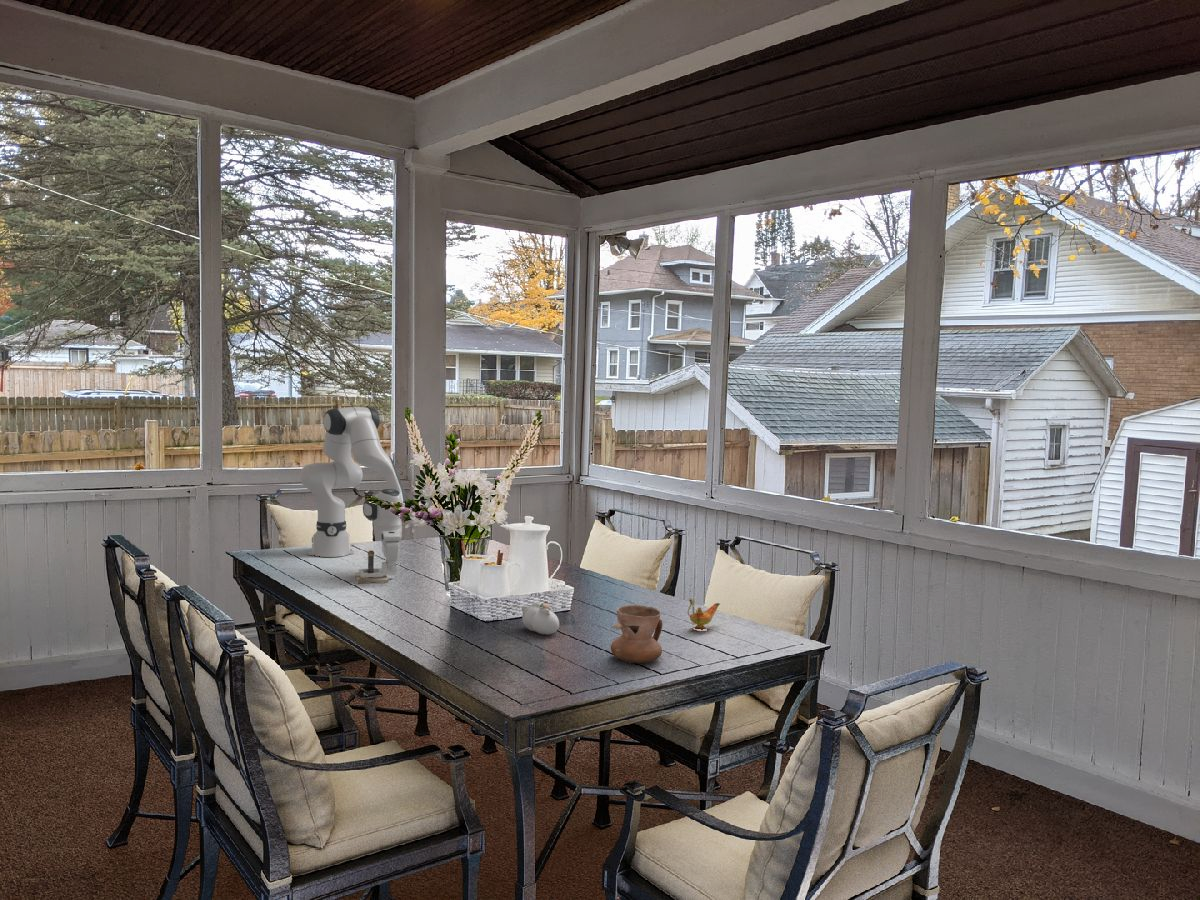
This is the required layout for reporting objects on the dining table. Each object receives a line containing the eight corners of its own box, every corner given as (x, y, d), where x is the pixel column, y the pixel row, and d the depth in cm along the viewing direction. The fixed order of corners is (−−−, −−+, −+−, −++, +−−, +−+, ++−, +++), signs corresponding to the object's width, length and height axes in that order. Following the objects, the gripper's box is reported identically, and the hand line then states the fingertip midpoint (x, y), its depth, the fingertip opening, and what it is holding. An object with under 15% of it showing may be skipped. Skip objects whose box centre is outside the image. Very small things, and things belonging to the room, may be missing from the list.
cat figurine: (561, 606, 270) (527, 591, 280) (543, 623, 266) (509, 608, 275) (569, 629, 275) (535, 613, 285) (551, 646, 271) (518, 630, 280)
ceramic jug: (630, 671, 241) (633, 620, 240) (596, 656, 252) (599, 607, 251) (677, 661, 253) (681, 612, 251) (643, 647, 264) (646, 600, 263)
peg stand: (355, 575, 341) (355, 546, 340) (384, 574, 344) (385, 545, 343) (357, 583, 328) (358, 553, 327) (388, 582, 332) (388, 552, 331)
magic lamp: (727, 625, 290) (729, 592, 289) (695, 636, 277) (697, 601, 276) (709, 621, 295) (711, 588, 294) (677, 631, 281) (679, 597, 280)
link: (358, 572, 337) (359, 561, 337) (394, 571, 341) (394, 560, 341) (360, 577, 330) (360, 565, 329) (396, 576, 334) (396, 564, 334)
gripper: (378, 528, 344) (378, 563, 345) (384, 537, 325) (383, 575, 326) (395, 527, 346) (394, 562, 348) (401, 537, 327) (400, 574, 328)
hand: (389, 569), depth 337 cm, fingers closed on link, 2 cm apart
